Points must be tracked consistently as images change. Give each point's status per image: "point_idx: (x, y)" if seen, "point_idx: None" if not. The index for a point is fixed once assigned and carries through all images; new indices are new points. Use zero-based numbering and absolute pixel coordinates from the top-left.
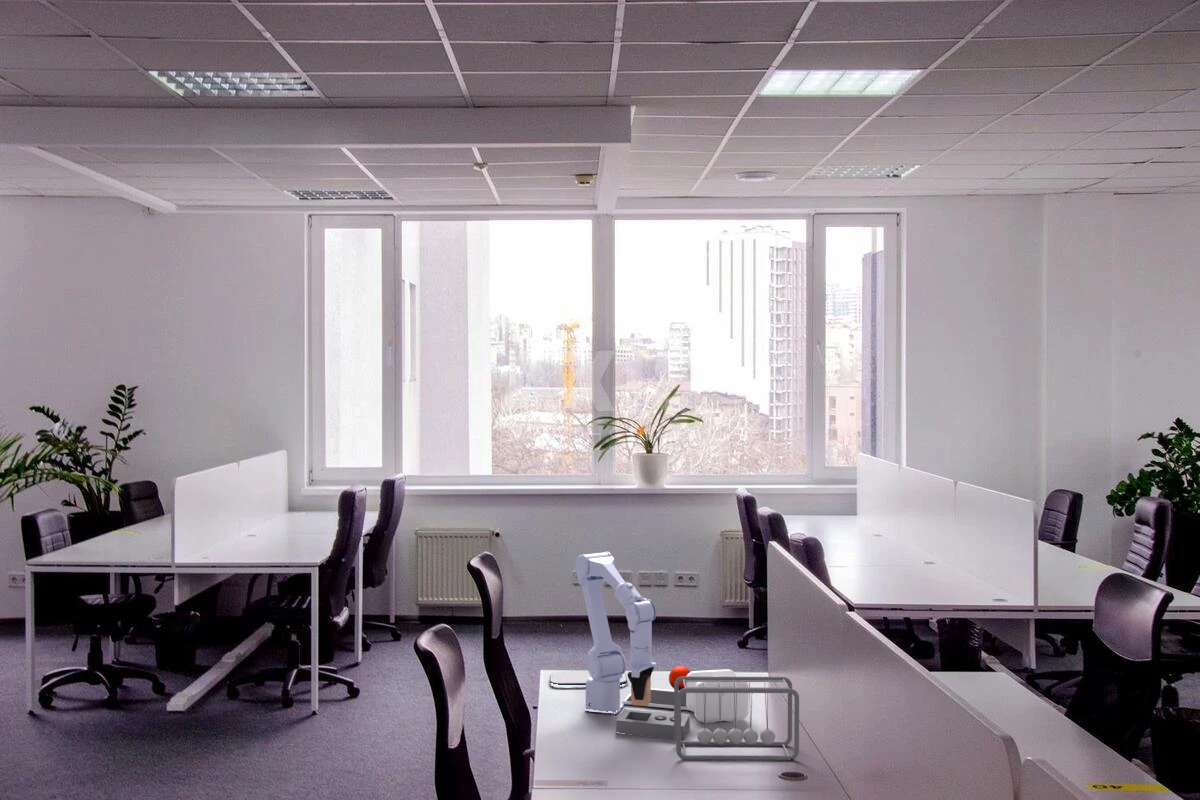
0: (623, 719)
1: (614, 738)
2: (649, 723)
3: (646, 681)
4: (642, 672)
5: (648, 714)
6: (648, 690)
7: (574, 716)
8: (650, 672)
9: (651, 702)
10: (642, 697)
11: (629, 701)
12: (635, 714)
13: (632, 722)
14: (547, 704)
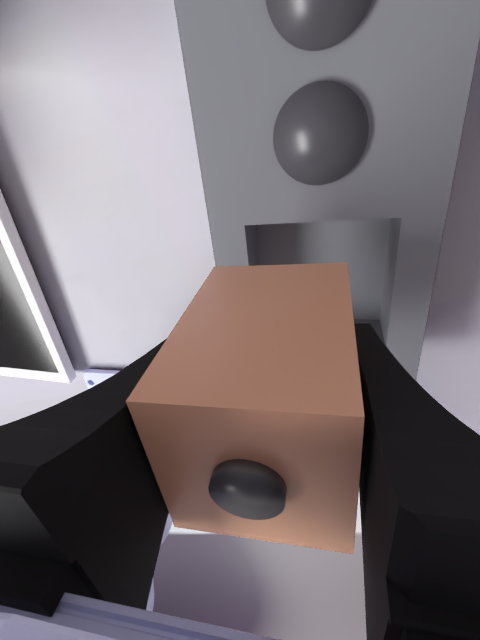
0: (395, 353)
1: (474, 336)
2: (451, 187)
3: (392, 435)
4: (128, 517)
5: (248, 244)
6: (288, 325)
7: None
8: (86, 452)
9: (6, 281)
10: (379, 337)
11: (53, 361)
12: None
13: (428, 300)
14: (190, 532)
